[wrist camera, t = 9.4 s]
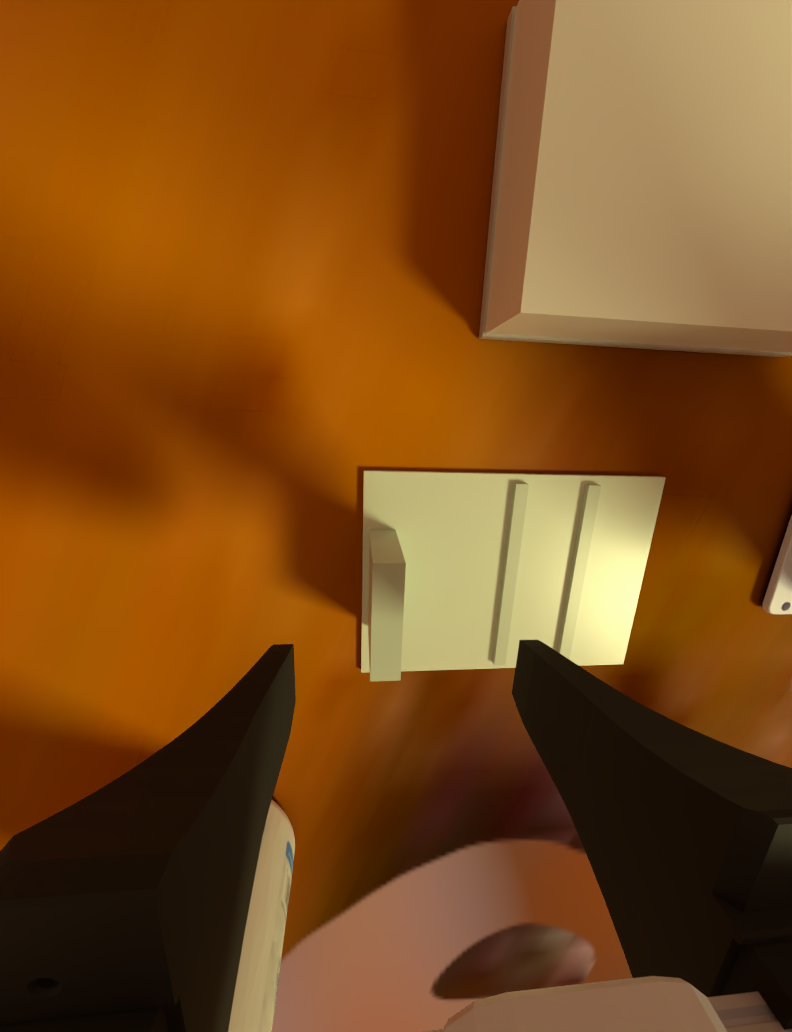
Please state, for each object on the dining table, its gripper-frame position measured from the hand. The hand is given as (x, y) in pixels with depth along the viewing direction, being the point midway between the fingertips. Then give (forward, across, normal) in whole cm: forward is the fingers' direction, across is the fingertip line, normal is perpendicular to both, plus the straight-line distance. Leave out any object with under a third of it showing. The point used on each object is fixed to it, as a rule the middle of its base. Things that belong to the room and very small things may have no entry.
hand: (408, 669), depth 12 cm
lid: (+7, -6, 0) cm, 9 cm away
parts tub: (+7, -10, -16) cm, 20 cm away
